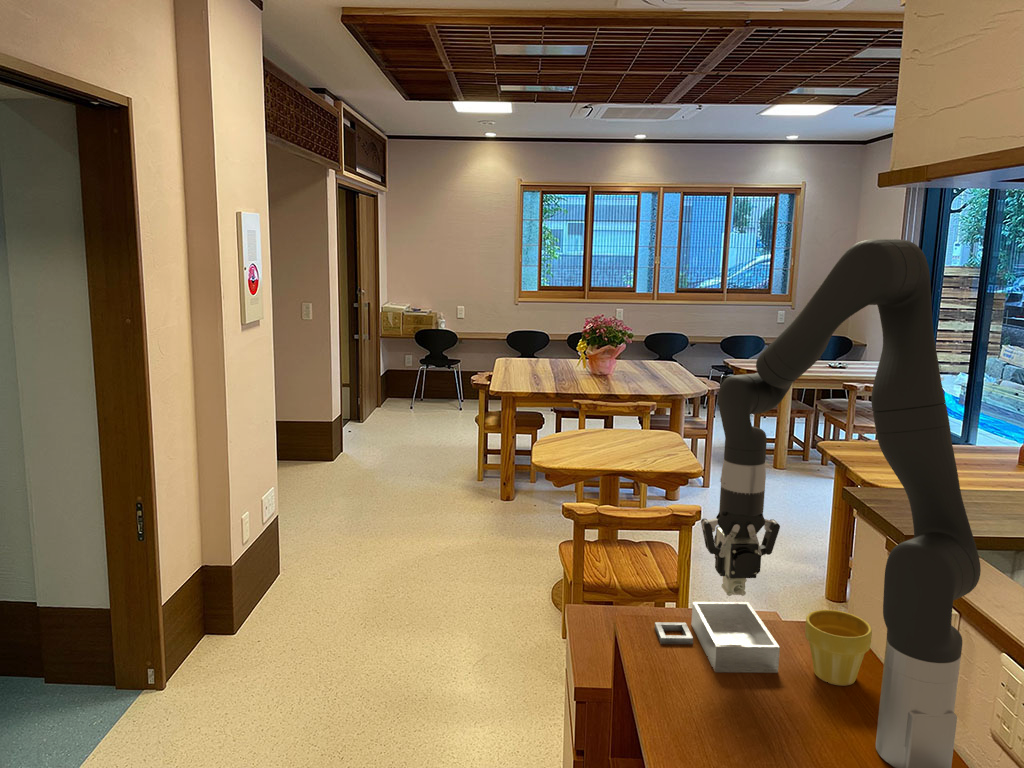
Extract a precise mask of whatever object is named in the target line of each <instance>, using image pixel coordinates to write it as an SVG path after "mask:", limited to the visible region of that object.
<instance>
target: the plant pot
mask: <svg viewBox="0 0 1024 768" xmlns="http://www.w3.org/2000/svg"><path fill="white" fill-rule="evenodd" d="M804 626H805V629H804V630H805V631H804V633H805V638H806V640H807V641H808V642H809V643H808V644H809V647H810V655H811V660H812V667H813V673H814V674H815V675H816V677H817V678H818V679H820V680H822V681H823V682H826V683H827V682H828V684H831V685H835V686H840V687H841V686H843V687H844V686H850V685H853V684H854V683H855V681H856V680H857V678H858V674H859V671H860V668H861V665H862V662H863V659H864V657H865V654H866V653H867V652H868V651H869V650H870V649H871V645H872V636H873V635H872V634H873V633H872V632H873V630H872V627H871V625H870V624H869V622H867V621H866V620H864V618H861V617H859V616H857V615H856V614H852V613H849V612H845V611H842V610H836V609H818V610H813V611H811V612H809V613H808V614H807V615H806V617H805V625H804Z"/></svg>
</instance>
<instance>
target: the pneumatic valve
mask: <svg viewBox="0 0 1024 768" xmlns="http://www.w3.org/2000/svg"><path fill="white" fill-rule="evenodd" d="M720 534H722V537H723V538H724V540H725V539H726V537H727V536H726V535H725V534H724V533H722V529H721V528H720V526H716V527H715V535H714V537H713V538H714V543H715V546H717V544H718V542H719V537H720ZM724 558H725V560H724V571H725V576H722V584H721V587H720V588H721V589H723V591H724V592H725V594H726V595H727V596H728V597H730V596H732V595H733V596H742V597H743V596H745V595H746V594H747V592H746V591H745V590H746V583H747V579H757V575H758V574H757V572H759V573H761V563H762V556H761V555H760V554H759V553H758V544H757V543H756V542H755V541H754V540H753V539H750V538H734V539H727V545H726V547H725V557H724ZM714 559H716V555H715V554H714Z"/></svg>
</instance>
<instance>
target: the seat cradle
mask: <svg viewBox="0 0 1024 768" xmlns="http://www.w3.org/2000/svg"><path fill="white" fill-rule="evenodd" d="M691 605H692V607H691V609H692V610H691V623H690V625H691V627H692V629H693V631H694V633H695V636H696V637H697V639H698V641H699V644H700V645H701V647H702V649H703V651H704V653H705V655H706V657H707V656H708V657H707V659H708V662H709V663H710V666H711V667H713V668H712V670H713V669H714V670H713V671H715V672H714V673H750V674H751V673H755V674H756V673H758V674H759V673H760V674H762V673H763V674H764V673H766V674H768V673H769V674H772V673H773V674H774V673H775V674H777V673H779V664H780V653H781V652H780V649H781V648H780V645H779V643H778V642H777V641H776V640H775V638H774V637H773V635H772V634H771V632H770V630H768V628H767V627H766V625H765V624H764V621H762V619H761V618H760V616H759V615H758V613H757V611H755V609H754V608H753V606H752V605H751V604H750V602H748V601H747V602H746V601H744V602H742V601H741V602H740V601H738V602H736V601H730V602H729V601H692V604H691Z"/></svg>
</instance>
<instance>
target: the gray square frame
mask: <svg viewBox="0 0 1024 768" xmlns="http://www.w3.org/2000/svg"><path fill="white" fill-rule="evenodd" d="M654 630H655V632H656V636H657V638H658V640H659V643H660V645H694V637H693V635H692V632H691V631H690V629H689V627H688V624H687V623H686V622H681V621H680V622H676V621H675V622H674V621H673V622H669V621H668V622H664V621H663V622H661V621H657V622H654ZM668 631H671V632H673V631H675V632H677V631H679V632H681V633H682V634H681V635H678V634H677V635H671V634H669V635H667V634H666V633H665V632H668Z"/></svg>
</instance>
